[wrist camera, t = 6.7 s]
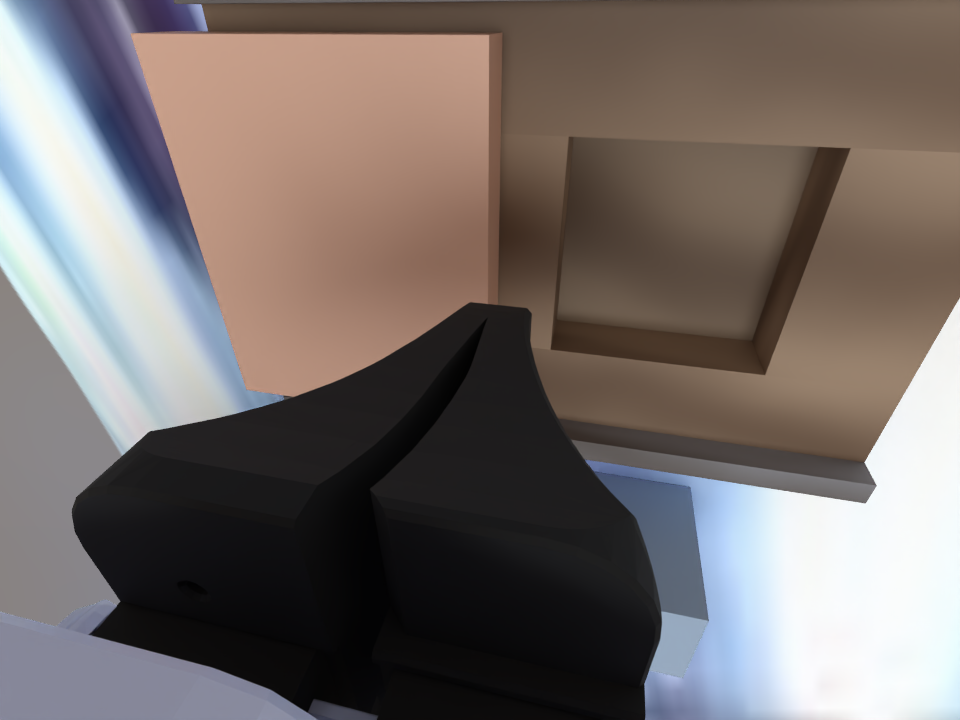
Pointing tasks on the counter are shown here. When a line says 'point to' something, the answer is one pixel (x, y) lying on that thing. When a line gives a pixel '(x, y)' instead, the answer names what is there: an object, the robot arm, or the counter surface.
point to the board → (714, 215)
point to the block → (669, 564)
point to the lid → (333, 186)
